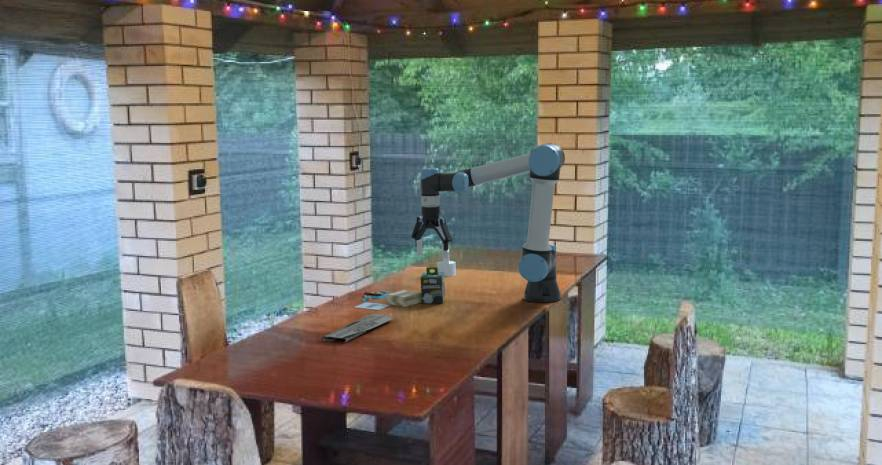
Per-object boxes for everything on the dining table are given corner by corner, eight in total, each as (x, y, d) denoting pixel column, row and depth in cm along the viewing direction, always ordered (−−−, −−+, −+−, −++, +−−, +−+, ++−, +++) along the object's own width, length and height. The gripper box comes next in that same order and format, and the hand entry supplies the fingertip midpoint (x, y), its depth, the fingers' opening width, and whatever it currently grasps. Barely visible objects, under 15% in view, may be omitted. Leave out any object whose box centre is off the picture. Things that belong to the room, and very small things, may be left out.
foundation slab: (421, 302, 352) (421, 292, 352) (405, 306, 345) (404, 297, 344) (403, 299, 359) (403, 290, 358) (387, 303, 351) (387, 294, 351)
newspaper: (367, 319, 328) (367, 310, 327) (396, 321, 323) (395, 312, 322) (318, 343, 296) (318, 333, 295) (349, 346, 291) (349, 336, 290)
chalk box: (445, 299, 357) (444, 264, 355) (443, 303, 348) (442, 268, 346) (423, 299, 358) (422, 264, 356) (421, 304, 349) (419, 268, 347)
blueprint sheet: (390, 305, 348) (390, 304, 348) (378, 310, 340) (378, 309, 340) (366, 302, 354) (366, 302, 354) (353, 307, 346) (353, 306, 346)
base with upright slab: (455, 276, 405) (455, 251, 403) (436, 276, 405) (436, 252, 403) (455, 272, 414) (455, 248, 412) (437, 273, 414) (436, 248, 412)
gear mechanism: (352, 301, 359) (370, 303, 355) (351, 289, 359) (370, 290, 354) (377, 292, 377) (395, 293, 372) (377, 280, 376) (395, 281, 371)
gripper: (402, 205, 353) (403, 255, 356) (448, 208, 337) (449, 261, 340) (414, 203, 359) (415, 252, 362) (459, 206, 343) (461, 258, 346)
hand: (432, 256), depth 351 cm, fingers open, 13 cm apart
